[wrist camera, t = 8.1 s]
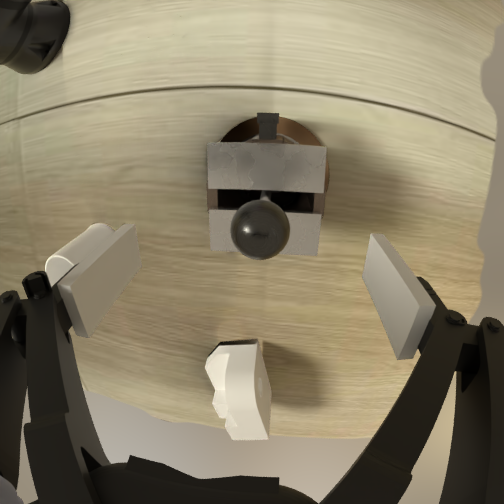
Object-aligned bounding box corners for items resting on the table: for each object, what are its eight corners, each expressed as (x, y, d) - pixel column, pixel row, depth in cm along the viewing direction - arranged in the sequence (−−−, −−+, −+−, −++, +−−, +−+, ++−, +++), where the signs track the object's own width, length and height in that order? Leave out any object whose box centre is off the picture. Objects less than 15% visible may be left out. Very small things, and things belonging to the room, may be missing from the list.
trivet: (211, 116, 36) (210, 116, 35) (331, 120, 34) (332, 120, 34) (213, 227, 42) (212, 228, 42) (323, 232, 41) (323, 233, 41)
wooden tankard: (226, 115, 35) (200, 112, 23) (315, 118, 34) (334, 116, 22) (226, 214, 41) (205, 255, 29) (309, 218, 40) (322, 261, 28)
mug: (141, 230, 44) (103, 266, 33) (141, 276, 48) (109, 318, 37) (83, 219, 44) (39, 248, 33) (86, 262, 48) (49, 297, 37)
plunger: (241, 148, 35) (197, 181, 16) (298, 151, 35) (323, 186, 16) (241, 203, 38) (203, 288, 19) (295, 205, 38) (311, 294, 19)
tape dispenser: (271, 390, 57) (268, 439, 46) (224, 392, 59) (215, 439, 48) (257, 338, 51) (251, 392, 40) (203, 342, 53) (186, 393, 41)
